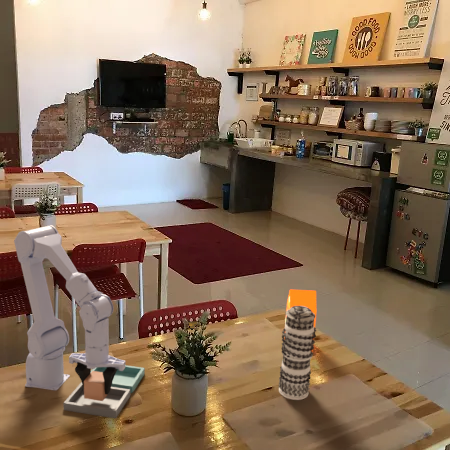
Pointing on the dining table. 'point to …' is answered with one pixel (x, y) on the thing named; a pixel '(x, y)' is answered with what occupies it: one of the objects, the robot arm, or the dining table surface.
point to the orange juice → (302, 300)
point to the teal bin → (125, 377)
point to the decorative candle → (297, 352)
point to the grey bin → (97, 402)
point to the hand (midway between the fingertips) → (97, 390)
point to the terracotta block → (94, 386)
